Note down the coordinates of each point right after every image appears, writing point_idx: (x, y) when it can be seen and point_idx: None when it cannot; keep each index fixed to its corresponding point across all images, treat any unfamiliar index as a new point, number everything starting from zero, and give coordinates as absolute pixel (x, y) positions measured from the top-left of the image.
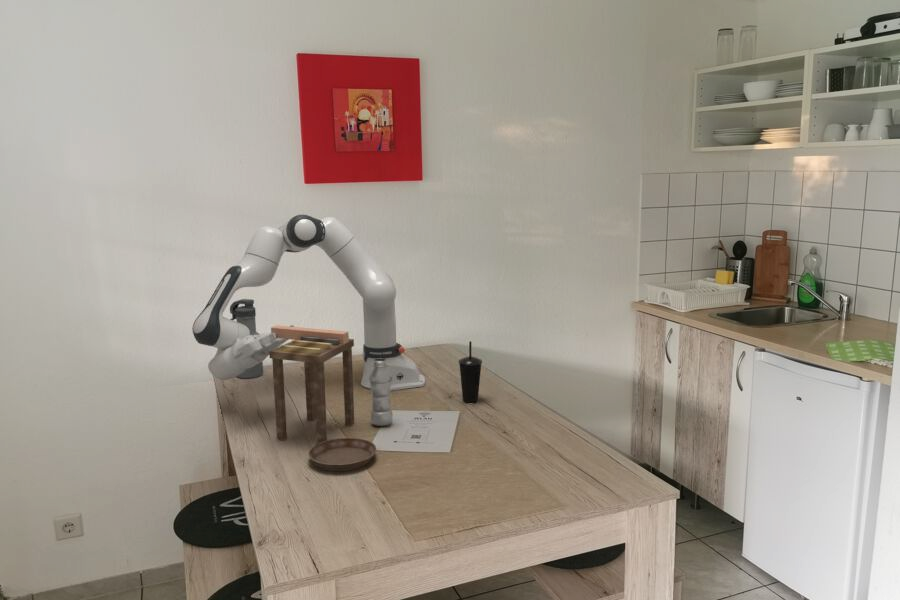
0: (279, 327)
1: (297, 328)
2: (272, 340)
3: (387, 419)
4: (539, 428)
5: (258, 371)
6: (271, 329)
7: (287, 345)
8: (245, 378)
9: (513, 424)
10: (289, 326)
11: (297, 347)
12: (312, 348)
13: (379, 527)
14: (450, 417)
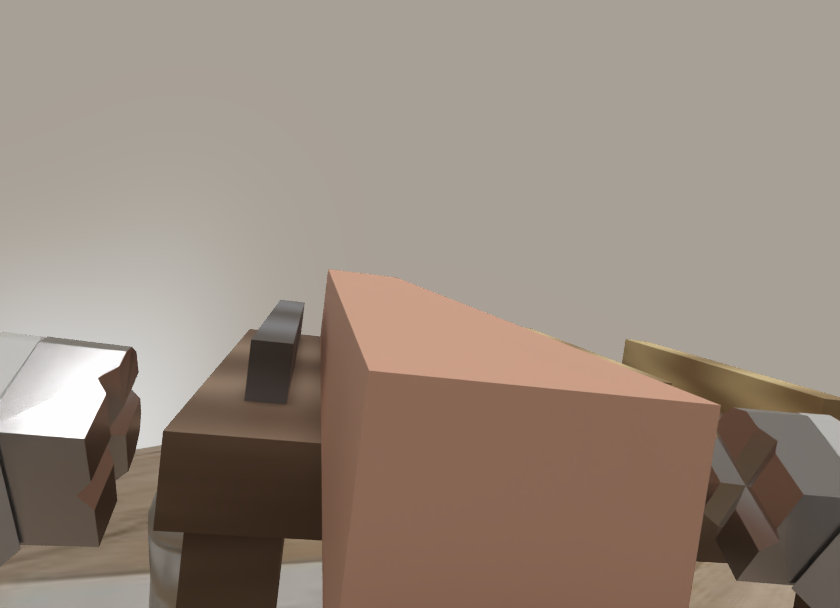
0: (524, 350)
1: (404, 303)
2: (794, 588)
3: None
4: (152, 475)
5: None
6: (699, 460)
7: (788, 387)
8: None
9: (128, 500)
10: (116, 365)
11: (737, 368)
12: (663, 348)
13: (750, 582)
14: (68, 594)
